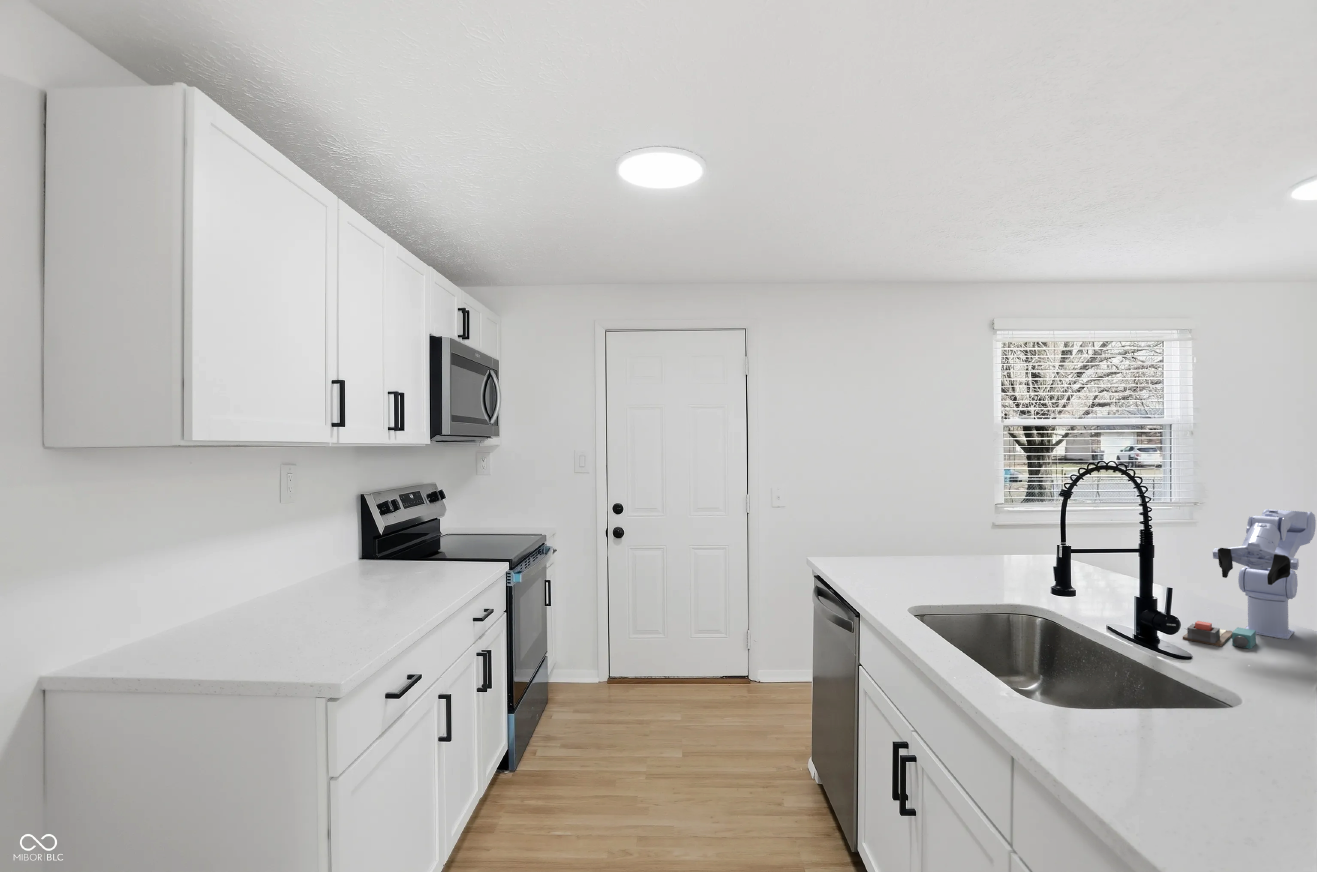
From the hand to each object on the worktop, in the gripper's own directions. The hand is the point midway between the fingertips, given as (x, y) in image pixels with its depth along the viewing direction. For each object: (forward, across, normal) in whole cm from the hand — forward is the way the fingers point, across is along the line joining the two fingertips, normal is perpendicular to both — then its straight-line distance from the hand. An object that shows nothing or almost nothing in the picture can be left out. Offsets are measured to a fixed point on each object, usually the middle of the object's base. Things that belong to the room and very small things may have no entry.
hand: (1246, 577), depth 142 cm
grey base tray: (+2, -7, +18) cm, 19 cm away
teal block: (+3, -1, +17) cm, 17 cm away
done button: (+6, -7, +14) cm, 17 cm away
